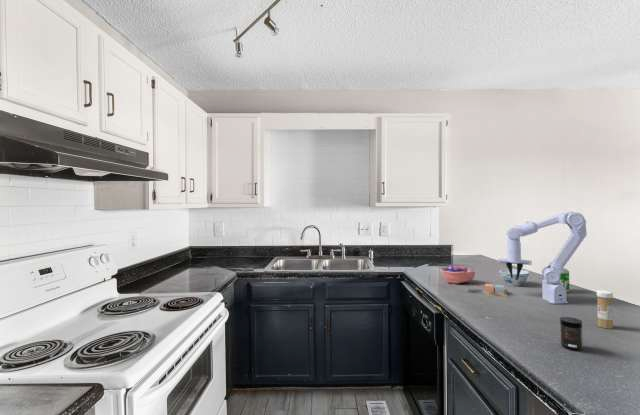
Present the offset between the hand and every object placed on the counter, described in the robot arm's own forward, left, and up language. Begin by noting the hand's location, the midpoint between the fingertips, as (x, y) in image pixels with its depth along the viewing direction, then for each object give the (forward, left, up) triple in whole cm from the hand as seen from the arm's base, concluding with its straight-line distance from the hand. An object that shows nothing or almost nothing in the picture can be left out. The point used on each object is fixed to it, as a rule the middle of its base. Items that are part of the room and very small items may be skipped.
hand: (514, 278), depth 160 cm
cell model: (+30, +15, -10) cm, 35 cm away
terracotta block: (+6, +10, -9) cm, 14 cm away
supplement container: (-56, +18, -10) cm, 60 cm away
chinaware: (+23, -15, -10) cm, 29 cm away
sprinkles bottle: (-41, -8, -10) cm, 43 cm away
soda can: (+6, -29, -10) cm, 31 cm away
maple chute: (+7, +11, -9) cm, 16 cm away
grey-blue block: (+4, +6, -9) cm, 11 cm away
